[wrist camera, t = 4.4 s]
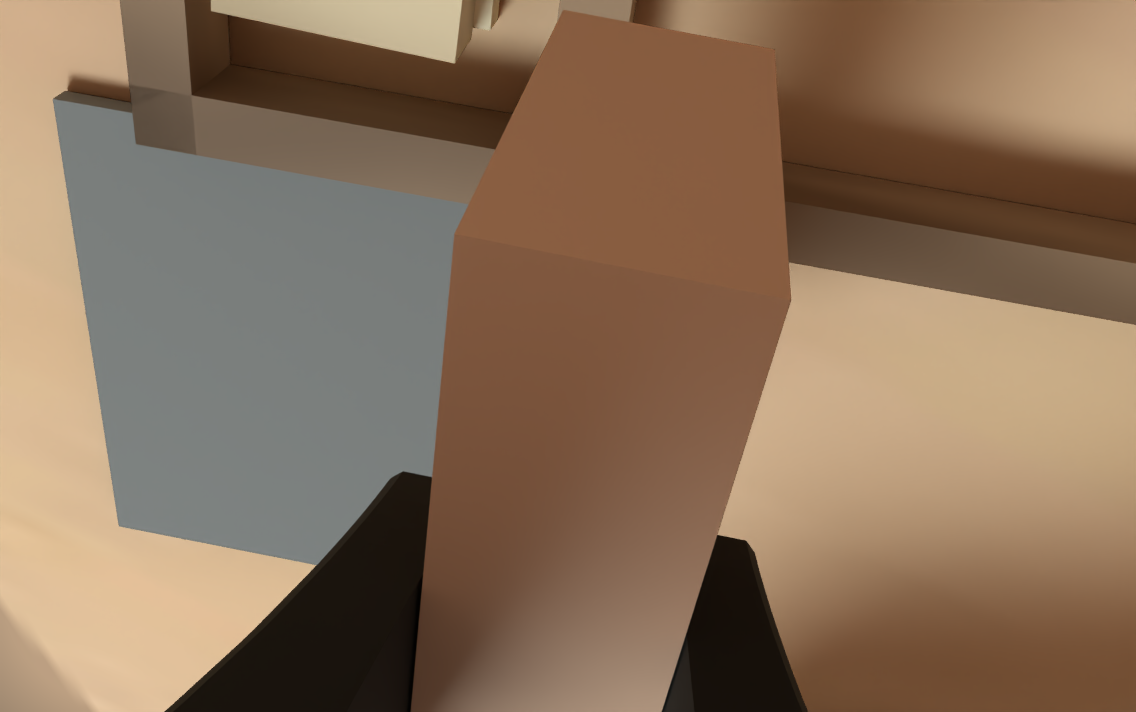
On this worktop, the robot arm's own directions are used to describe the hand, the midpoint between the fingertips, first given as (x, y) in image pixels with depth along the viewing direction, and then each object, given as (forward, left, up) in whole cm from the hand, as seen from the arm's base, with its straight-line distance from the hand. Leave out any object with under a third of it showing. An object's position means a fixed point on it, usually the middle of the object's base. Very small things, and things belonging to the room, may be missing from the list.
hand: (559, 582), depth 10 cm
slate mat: (-5, +4, -9) cm, 11 cm away
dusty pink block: (0, 0, -3) cm, 3 cm away
